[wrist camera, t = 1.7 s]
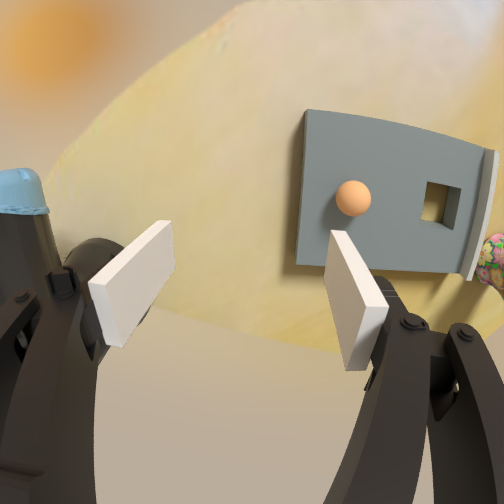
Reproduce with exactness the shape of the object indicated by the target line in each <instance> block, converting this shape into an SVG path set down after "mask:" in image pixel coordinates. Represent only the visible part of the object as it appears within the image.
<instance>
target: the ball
mask: <svg viewBox="0 0 504 504" xmlns="http://www.w3.org/2000/svg"><path fill="white" fill-rule="evenodd" d="M336 203H337V205H338V207H339V209H340V210H341V211H342V212H343V213H344V214H346V215H348V216H360V215H362V214H364V213H365V212H366V211H367V210H368V208H369V206H370V203H371V195H370V192H369V190H368V188H367V187H366V186H365V185H364V184H363V183H361V182H359V181H354V180H352V181H347V182H345V183H343V184H342V185H341V186H340V187H339V188H338V190H337V193H336Z"/></svg>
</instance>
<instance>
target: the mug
mask: <svg viewBox="0 0 504 504" xmlns="http://www.w3.org/2000/svg"><path fill="white" fill-rule="evenodd" d="M475 270H476V276H477V278H478V280H479V281H480V282H481V283H483V284H489V285H491V286H493V287H494V288H495V289H496V290H497V291H498V292H499V293H500V295H501V296H502V298H503V300H504V234H501V233H498V234H495V235H493V236H491V237H490V238H488V239H487V240H486V242H485V243H484V244H483V246H482V249H481V252H480V255H479V259H478V262H477V265H476V268H475Z"/></svg>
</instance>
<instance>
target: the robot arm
mask: <svg viewBox="0 0 504 504" xmlns="http://www.w3.org/2000/svg"><path fill="white" fill-rule="evenodd" d="M48 213H50V211H49V208H48V207H47V206H46V202H45V198H44V194H43V189H42V185H41V180H40V178H39V176H38V174H37V173H36V172H35V171H33V170H31V169H29V168H18V169H9V170H3V171H0V504H96V493H95V478H94V448H93V447H94V445H93V444H94V438H93V437H94V407H95V391H96V380H97V370H98V365H99V364H100V362H101V361H102V359H103V357H104V356H105V354H106V353H107V351H108V350H109V348H110V346H115V347H119V348H123V347H124V346H125V344H126V342H127V341H128V339H129V338H130V336H131V335H132V333H133V331H134V330H135V328H136V327H137V326H138V325H139V324H140V323H141V322H142V321H143V319H144V318H145V316H146V315H147V313H148V311H149V309H150V306H151V304H152V302H153V301H154V299H155V298H156V296H157V295H158V293H159V292H160V290H161V289H162V287H163V286H164V284H165V283H166V281H167V280H168V279H169V277H170V276H171V274H172V273H173V271H174V270H175V258H174V246H173V232H172V221H167V220H158V221H157V222H155V223H154V224H153V225H152V226H151V227H149V228H148V229H147V230H146V231H145V232H143V233H142V234H141V235H140V236H139V237H138V238H136V239H135V240H134V241H133V242H132V243H131V244H129V245H128V246H127V247H126V248H124V247H122V246H121V245H119V244H117V243H115V242H113V241H110V240H107V239H103V238H93V239H88V240H86V241H84V242H82V243H81V244H80V245H78V246H77V247H75V248H74V249H73V250H72V251H71V252H70V253H69V255H68V257H67V259H66V261H65V263H64V265H63V266H62V264H61V261H60V257H59V254H58V251H57V247H56V243H55V240H54V236H53V232H52V228H51V224H50V220H49V216H48ZM324 283H325V286H326V290H327V294H328V298H329V302H330V306H331V310H332V314H333V318H334V322H335V326H336V330H337V334H338V339H339V343H340V347H341V352H342V356H343V361H344V366H345V370H346V371H363V370H366V369H367V366H368V364H369V362H370V359H371V361H372V364H373V367H374V368H373V370H372V373H371V375H370V377H369V379H368V382H367V384H366V386H365V388H364V391H366V392H365V396H364V399H363V403H362V406H361V409H360V412H359V415H358V418H357V421H356V424H355V427H354V430H353V433H352V436H351V439H350V441H349V444H348V447H347V449H346V452H345V455H344V457H343V460H342V462H341V465H340V467H339V470H338V472H337V474H336V477H335V479H334V481H333V483H332V486H331V488H330V490H329V492H328V494H327V496H326V499H325V501H324V503H323V504H412V502H413V499H414V494H415V491H416V486H417V482H418V477H419V472H420V467H421V462H422V456H423V449H424V443H425V435H426V427H427V428H428V435H429V443H430V451H431V461H432V472H433V489H434V504H504V384H503V382H502V379H501V377H500V375H499V372H498V370H497V368H496V366H495V364H494V362H493V360H492V357H491V355H490V353H489V351H488V349H487V348H486V345H485V343H484V341H483V339H482V338H481V336H480V334H479V333H478V332H477V330H475V329H474V328H473V327H472V326H470V325H468V324H463V323H455V324H453V325H451V327H450V329H449V331H448V334H444V333H439V332H434V331H430V329H429V326H428V323H427V322H426V321H425V320H424V319H423V318H421V317H420V316H418V315H415V314H413V313H409V312H408V311H407V309H406V307H405V306H404V304H403V302H402V301H401V299H400V297H398V294H397V293H396V291H395V289H394V288H393V286H392V285H391V283H390V282H389V281H388V280H386V279H385V278H384V277H382V276H372V275H371V273H370V271H369V269H368V268H367V266H366V264H365V263H364V261H363V259H362V257H361V256H360V254H359V252H358V251H357V249H356V247H355V246H354V244H353V242H352V241H351V239H350V238H349V236H348V234H347V233H346V231H339V230H331V232H330V239H329V246H328V253H327V260H326V266H325V273H324ZM457 383H458V385H459V391H458V390H457V386H456V384H457Z"/></svg>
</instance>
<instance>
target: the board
mask: <svg viewBox="0 0 504 504" xmlns="http://www.w3.org/2000/svg"><path fill="white" fill-rule="evenodd" d="M499 154H500V152H498V151H495V150H491V149H486V148H483V147H480V146H477V145H475V144H472V143H469V142H466V141H463V140H460V139H457V138H453V137H450V136H447V135H443V134H440V133H436V132H433V131H429V130H425V129H421V128H417V127H413V126H409V125H405V124H400V123H396V122H391V121H386V120H381V119H376V118H370V117H364V116H358V115H352V114H345V113H338V112H330V111H322V110H312V109H307V110H306V111H305V122H304V141H303V158H302V173H301V187H300V200H299V212H298V224H297V235H296V245H295V261H296V265H312V266H326V260H327V253H328V246H329V239H330V232H331V230H339V231H346V233H347V234H348V236H349V238H350V239H351V241H352V242H353V244H354V246H355V247H356V249H357V251H358V252H359V254H360V256H361V257H362V259H363V261H364V263H365V264H366V266H367V268H368V269H380V270H399V271H418V272H438V273H458V274H460V275H461V276H462V277H463V278H464V279H465V280H466V281H471V280H472V277H473V274H474V271H475V268H476V265H477V262H478V259H479V255H480V252H481V249H482V245H483V241H484V238H485V234H486V230H487V226H488V222H489V217H490V213H491V208H492V203H493V197H494V192H495V186H496V179H497V172H498V164H499ZM352 180H354V181H359V182H361V183H363V184H364V185H365V186H366V187H367V188H368V190H369V192H370V195H371V203H370V206H369V208H368V210H367V211H366V212H365V213H364V214H362V215H360V216H348V215H346V214H344V213H343V212H342V211H341V210H340V209H339V207H338V205H337V203H336V193H337V190H338V188H339V187H340V186H341V185H342V184H343V183H345V182H347V181H352ZM427 181H428V182H433V183H438V184H443V185H448V186H449V189H448V195H447V201H446V206H445V211H444V216H443V221H442V223H439V222H431V221H424V220H421V215H422V210H423V204H424V198H425V192H426V186H427Z"/></svg>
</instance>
